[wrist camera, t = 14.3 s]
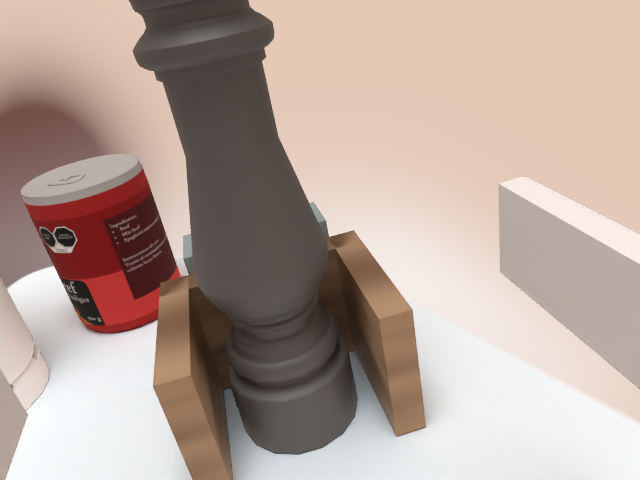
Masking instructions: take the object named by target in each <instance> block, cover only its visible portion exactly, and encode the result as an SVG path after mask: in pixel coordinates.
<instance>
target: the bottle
mask: <svg viewBox="0 0 640 480" xmlns="http://www.w3.org/2000/svg"><path fill="white" fill-rule="evenodd" d="M0 369H1V370H2V372H3V374H4V375H5V377H6V379H7V381H8V382H9V384H10V385H11V384H12V387H13V388H12V389H13V391H14V392H15V394H16V396H17V397H18V399H19V401H20V402H21V404H22V406H23V408H24V409H25V411H26V410H27V409H28V408H29V407H30V406H31V405H32V404H33V402H34V401H35V400H36V399H37V398H38V397H39V396H40V394H41V393H42V392H43V390H44V388H45V386H46V384H47V382H48V380H49V367H48V365H47V363H46V362H45V360H44V358H43V356H42V354H41V352H40V350H39V349H38V348H37V346H36V345H35V344H34V341H33V338H32V335H31V334H30V332H29V330H28V328H27V326H26V324H25V322H24V321H23V319H22V317H21V315H20V313H19V311H18V309H17V308H16V306H15V304H14V302H13V300H12V298H11V296H10V294H9V293H8V291H7V289H6V287H5V285H4V283H3V282H2V280H1V278H0Z"/></svg>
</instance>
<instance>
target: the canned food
mask: <svg viewBox="0 0 640 480" xmlns="http://www.w3.org/2000/svg"><path fill="white" fill-rule="evenodd" d="M21 194H22V197H23V201H24V203H25V205H26V207H27V209H28V212H29V214H30V217H31V219H32V221H33V223H34V225H35V227H36V229H37V231H38V233H39V236H40V238H41V240H42V242H43V244H44V246H45V248H46V250H47V252H48V254H49V256H50V258H51V260H52V263H53V265H54V267H55V269H56V271H57V273H58V275H59V277H60V279H61V281H62V283H63V285H64V287H65V290H66V292H67V294H68V296H69V298H70V300H71V302H72V304H73V306H74V308H75V310H76V312H77V314H78V317H79V319H80V320H81V321H83V322H84V323H85V324H86V325H87V326H88V327H89V328H90V329H92V330H94V331H98V332H104V333H114V332H122V331H126V330H131V329H134V328H137V327H140V326H143V325H145V324H147V323H150V322H152V321H154V320H155V319H157V318H158V311H159V297H160V283H162V282H165V281H169V280H173V279H176V278H180V277H181V276H180V273H179V271H178V268H177V265H176V262H175V259H174V256H173V253H172V250H171V247H170V244H169V241H168V239H167V236H166V233H165V230H164V227H163V224H162V221H161V218H160V216H159V212H158V209H157V207H156V204H155V201H154V198H153V195H152V192H151V189H150V186H149V183H148V180H147V178H146V176H145V173H144V170H143V167H142V165H141V163H140V161H139V158H138V157H136V156H134V155H128V154H115V155H106V156H100V157H95V158H90V159H86V160H82V161H78V162H75V163H71V164H68V165H66V166H62V167H59V168H57V169H54V170H52V171H49V172H47V173H45V174H42V175H40V176H39V177H37V178H35V179H33V180H31V181H30V182H29V183H27V184H26V185H25V186H24V187H23V188H22V190H21Z"/></svg>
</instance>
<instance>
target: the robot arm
mask: <svg viewBox="0 0 640 480" xmlns="http://www.w3.org/2000/svg"><path fill="white" fill-rule="evenodd" d="M498 185H499V237H500V272H501V273H502V274H503V275H504V276H505V277H507V278H508V279H509V280H510V281H511V282H513V283H514V284H515V285H516V286H517V287H519V288H520V289H521V290H522V291H523V292H524V293H526V294H527V295H528V296H529V297H530V298H532V299H533V300H534V301H535V302H536V303H538V304H539V305H540V306H541V307H542V308H544V309H545V310H546V311H547V312H548V313H549V314H551V315H552V316H553V317H554V318H555V319H557V320H558V321H559V322H560V323H561V324H563V325H564V326H565V327H566V328H567V329H569V330H570V331H571V332H572V333H573V334H575V335H576V336H577V337H578V338H579V339H581V340H582V341H583V342H584V343H585V344H586V345H588V346H589V347H590V348H591V349H593V350H594V351H595V352H596V353H597V354H598V355H600V356H601V357H602V358H603V359H604V360H606V361H607V362H608V363H609V364H610V365H612V366H613V367H614V368H615V369H616V370H617V371H619V372H620V373H621V374H622V375H623V376H625V377H626V378H627V379H628V380H630V381H631V382H632V383H633V384H634V385H635V386H637V387H638V388H639V389H640V235H639V234H637V233H635V232H633V231H631V230H629V229H627V228H625V227H623V226H621V225H619V224H617V223H615V222H613V221H611V220H609V219H607V218H605V217H603V216H601V215H599V214H598V213H595V212H594V211H592V210H590V209H588V208H586V207H584V206H582V205H580V204H578V203H576V202H574V201H572V200H570V199H568V198H566V197H564V196H562V195H560V194H558V193H556V192H554V191H552V190H550V189H548V188H546V187H544V186H542V185H540V184H538V183H536V182H534V181H532V180H530V179H528V178H526V177H521V178H518V179H514V180H510V181H507V182H503V183H499V184H498ZM27 416H28V414H27V413H26V411H25V409H24V408H23V406H22V404H21V402H20V401H19V399H18V397H17V396H16V394H15V392H14V391H13V389H12V387H11V386H10V384H9V382H8V381H7V379H6V377H5V375H4V374H3V372H2V370H1V369H0V480H5V479H6V476H7V473H8V470H9V467H10V464H11V462H12V459H13V456H14V453H15V450H16V447H17V444H18V442H19V439H20V436H21V433H22V430H23V427H24V425H25V422H26V419H27Z"/></svg>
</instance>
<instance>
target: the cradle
mask: <svg viewBox="0 0 640 480" xmlns="http://www.w3.org/2000/svg"><path fill="white" fill-rule="evenodd" d="M326 240H327V245H328V250H329V255H328V264H327V267H326V270H325V272H324V275H323V278H322V281H321V284H320V287H319V289H318V293H319V298H318V301H317V302H318V303H320V304H321V305H322V306H323V307H324V308H326V309H327V310H329V311H330V312H331V313H333V315H334V317H335V320H336V322H337V325H338V327H339V330H340V333H339V334H340V335H341V336H342V337H343V339H344V341H345V344H346V346H347V349H348V351H352V350H354V351H355V353H356V355H357V357H358V359H359V361H360V363H361V365H362V367H363V369H364V371H365V373H366V375H367V377H368V379H369V381H370V383H371V385H372V387H373V389H374V391H375V393H376V395H377V397H378V399H379V401H380V403H381V405H382V408H383V410H384V412H385V414H386V416H387V418H388V420H389V422H390V424H391V426H392V428H393V430H394V432H395V434H396V436H400V435H403V434H406V433H409V432H412V431H415V430H418V429H421V428H424V427H426V425H425V416H424V408H423V399H422V390H421V381H420V372H419V364H418V355H417V346H416V337H415V329H414V320H413V311H412V308H411V307H410V306H409V304H408V303H407V302H406V300H405V299H404V298H403V296H402V295H401V294H400V292H399V291H398V289H397V288H396V287H395V285H394V284H393V283H392V281H391V280H390V279H389V277H388V276H387V275H386V273H385V272H384V271H383V269H382V268H381V267H380V265H379V264H378V263H377V261H376V260H375V259H374V257H373V256H372V254H371V253H370V252H369V250H368V249H367V248H366V246H365V245H364V244H363V242H362V241H361V240H360V239H359V237H358V236H357V234H356V233H355V231H350V232H347V233H343V234H339V235H335V236H331V237H328V238H326ZM232 327H233V324H232V323H231V322H230V321H229V320H228V315H227V314H225V313H224V312H222V311H221V310H220V309H219V308H218V307H216V306H215V305H214V304H213V303H212V302H211V301H210V300H209V299H208V298H207V297H206V296H205V295H204V293H203V292H202V291H201V289H200V288H199V286H198V285H197V282H196V279H195V276H194V274H191V275H187V276H184V277H180V278H176V279H173V280H169V281H165V282H162V283H160V297H159V311H158V325H157V339H156V353H155V367H154V381H153V388H154V390H155V392H156V395H157V397H158V399H159V402H160V404H161V406H162V409H163V411H164V413H165V416H166V418H167V420H168V423H169V425H170V427H171V430H172V432H173V434H174V437H175V439H176V441H177V444H178V446H179V448H180V451H181V453H182V456H183V458H184V460H185V463H186V465H187V467H188V470H189V472H190V474H191V477H192V479H193V480H233V476H232V467H231V457H230V448H229V439H228V430H227V420H226V411H225V402H224V393H223V389H226V388H230V387H231V386H230V378H229V366H230V364H229V362H228V361H227V351H226V341H227V339H228V337H229V335H230V333H231V329H232Z"/></svg>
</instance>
